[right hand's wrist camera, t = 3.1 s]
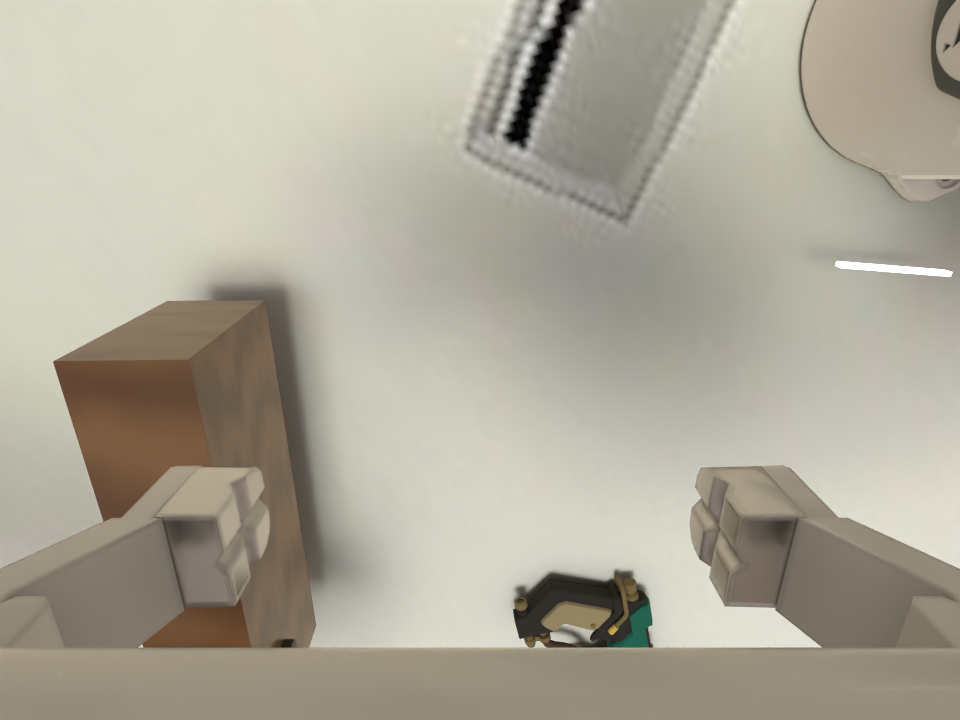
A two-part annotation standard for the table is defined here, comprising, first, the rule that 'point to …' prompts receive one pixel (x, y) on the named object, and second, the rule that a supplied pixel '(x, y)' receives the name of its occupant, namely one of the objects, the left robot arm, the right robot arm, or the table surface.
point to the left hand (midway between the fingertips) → (242, 649)
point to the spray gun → (586, 613)
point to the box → (196, 446)
